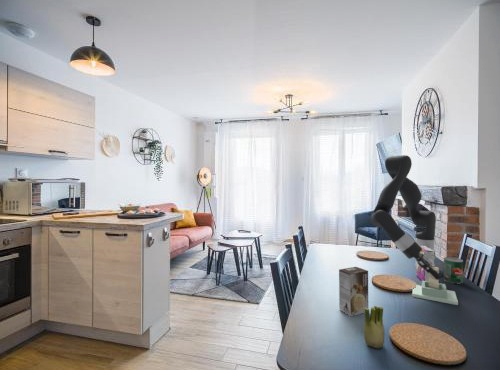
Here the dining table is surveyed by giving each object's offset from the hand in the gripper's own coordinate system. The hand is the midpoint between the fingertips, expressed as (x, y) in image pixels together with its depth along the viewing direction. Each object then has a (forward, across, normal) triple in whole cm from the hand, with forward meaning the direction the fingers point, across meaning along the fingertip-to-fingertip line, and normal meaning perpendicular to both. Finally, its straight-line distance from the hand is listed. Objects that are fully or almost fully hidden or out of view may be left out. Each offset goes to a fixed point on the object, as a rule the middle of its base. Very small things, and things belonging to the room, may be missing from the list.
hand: (438, 276), depth 120 cm
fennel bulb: (-7, -54, +20) cm, 58 cm away
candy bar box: (+3, +20, +10) cm, 22 cm away
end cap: (+5, 0, +7) cm, 9 cm away
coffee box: (-14, -34, +27) cm, 45 cm away
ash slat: (+2, 0, +5) cm, 5 cm away
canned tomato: (+11, +26, +1) cm, 28 cm away
